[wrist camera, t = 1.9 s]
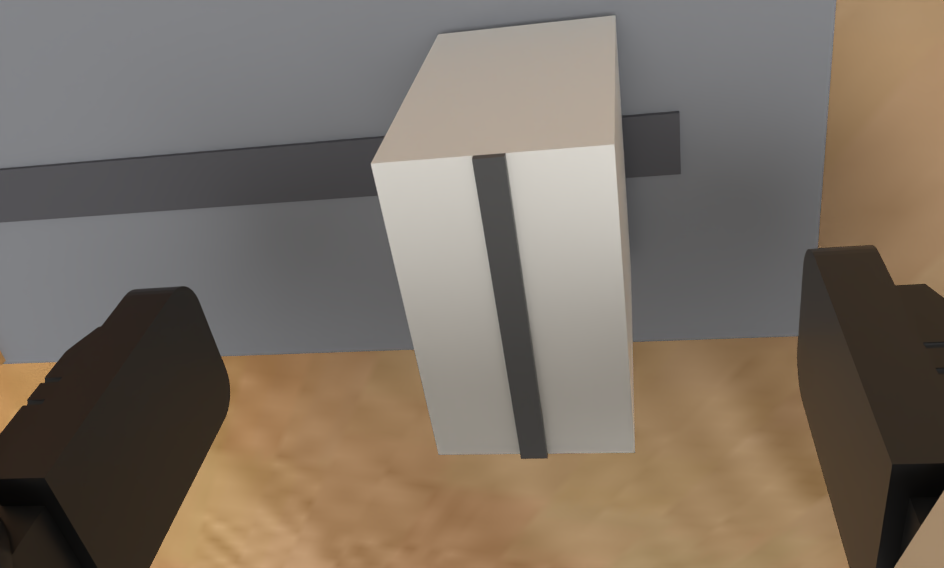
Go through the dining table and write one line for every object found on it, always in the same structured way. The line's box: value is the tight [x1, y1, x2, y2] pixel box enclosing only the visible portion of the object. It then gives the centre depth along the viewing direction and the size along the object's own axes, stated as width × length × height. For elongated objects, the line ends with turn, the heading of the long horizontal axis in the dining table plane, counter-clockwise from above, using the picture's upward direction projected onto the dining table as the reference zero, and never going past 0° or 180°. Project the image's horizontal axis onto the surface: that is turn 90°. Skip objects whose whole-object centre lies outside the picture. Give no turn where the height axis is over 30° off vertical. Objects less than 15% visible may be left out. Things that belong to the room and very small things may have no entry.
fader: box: [371, 15, 635, 459], centre depth 14 cm, size 3×5×5 cm, turn 8°
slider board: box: [0, 0, 836, 366], centre depth 18 cm, size 24×9×2 cm, turn 98°
